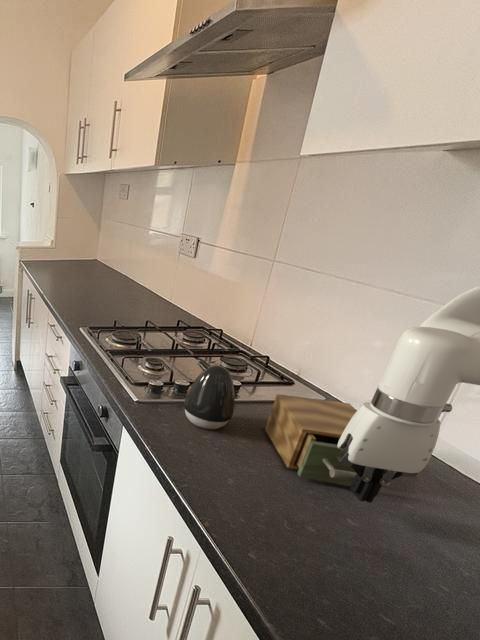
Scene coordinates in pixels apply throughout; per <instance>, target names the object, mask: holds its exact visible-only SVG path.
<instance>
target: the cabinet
mask: <svg viewBox="0 0 480 640" xmlns="http://www.w3.org/2000/svg"><path fill="white" fill-rule="evenodd" d="M357 410H358V409H356V408H355V407H354V406H353V405H352V404H351V403H349V402H342V401H333V400H326V399H318V398H310V397H303V396H295V395H288V394H280V393H277V394H276V396H275V398H274V401H273V404H272V408H271V410H270V413H269V417H268V419H267V423H266V425H265V428H264V431H265V432H266V434H267V436H268V438H269V439H270V441H271V443H272V444H273V446H274V447H275V449H276V451H277V453H278V454H279V456H280V458H281V459H282V461H283V463H284V464H285V466H286V468H287V469H289V470H290V469H291V470H297V471H298V470H299V467H298V465H297V464H296V462H295V460H296V458H297V455H298V453H299V450H300V447H301V445H302V442H303V440H304V437H305V435H306V433H312V434H318V435H325V436H331V437H338V438H340V437H341V435H342V433H343V431H344V430H345V428H346V426H347V425H348V423H349V421H350V420H351V418H352V417H353V415H354V414H355V413H356V411H357Z"/></svg>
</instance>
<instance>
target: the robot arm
mask: <svg viewBox="0 0 480 640" xmlns="http://www.w3.org/2000/svg"><path fill="white" fill-rule="evenodd" d="M459 383H462V384H463V383H464V384H470V385H475V386H480V285H478V286H475V287H473V288H470V289H468V290H466V291H464V292H462V293H460V294H458V295H457V296H455V297H453V298H452V299H451V300H449V301H448V302H447V303H446V304H444V305H443V306H442V307H440V308H439V309H438V310H436V311H435V312H434V313H432V314H431V315H430V316H429V317H428V318H426V319H425V320H423V322H422V323H421V324H420V325H419V326H414V327H410V328H407V329H406V330H405V331H404V332H402V334H401V335H400V337H399V339H398V342H397V344H396V346H395V348H394V350H393V353H392V354H391V357H390V359H389V361H388V364H387V365H386V368H385V370H384V372H383V375H382V377H381V379H380V381H379V383H378V385H377V388H376V390H375V392H374V394H373V396H372V399H371V400H370V402H364V403H362V405H360V407H358V409H356V410H357V411H356V413H355V414H354V415H353V417H352V418H351V420H350V421H349V423H348V425H347V426H346V428H345V430H344V431H343V433H342V435H341V437H340V439H339V441H338V445H337V447H338V448H339V449H340V450H342V451H341V452H340V453H339V455H338V456H337V457H336V460H337V461H338V463H339V464H340V465H343V466H346V467H348V468H352V469H354V470H355V472H356V473H357V474H356V476H355V478H354V480H353V482H352V484H351V486H350V490H351V492H352V493H353V494H354V495H355V497H356V498H357V500H359V501H360V502H366V503H370V504H372V503H373V502H374V499H375V497H376V496H378V494H379V492H380V490H381V488H382V487H383V486H382V485H386V484H388V483H389V482H391V481H392V480H395V479H398V478H400V477H402V478H407V477H408V478H415V477H417V476H418V474H419V473H421V472H422V471H423V470H424V469H425V468H426V466H427V465H428V463H429V461H430V459H431V457H432V455H433V453H434V450H435V447H436V445H437V442H438V438H439V434H440V428H441V420H440V419H439V418H440V416H441V414H442V413H451V412H452V411H453V405H452V404H451V403H448V401H449V399H450V397H451V395H452V393H453V392H454V389H455V388H456V386H457V385H458V384H459Z"/></svg>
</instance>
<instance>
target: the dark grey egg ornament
mask: <svg viewBox="0 0 480 640" xmlns="http://www.w3.org/2000/svg"><path fill="white" fill-rule="evenodd" d="M197 365H198V366H199V367H200V369H201V370H202V371H201V373H200V374H199V375H198V376H197V377H196V378H195V379H194V381H193V383H192V384H191V386H190V388H189V389H188V392H187V394H186V396H185V399H184V401H183V408H184V413H185V416H186V418H187V419H188V421H190V423H191V424H192V425H195V426H196V427H199V428H202V429H205V430H218V429H220V428H223V427H224V426H225V425H226V424H228V422H229V421H230V420H232V417H233V415H234V411H235V386H234V381H233V377H232V374H231V372H230V371H229V369H227V368H226V367H225V366H222V365H220V364H219V365H218V364H214V365H210V366H208V365H206V364H205V363H204V362H203V361H202V360H199V361H198V362H197Z"/></svg>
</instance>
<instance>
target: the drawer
mask: <svg viewBox="0 0 480 640" xmlns="http://www.w3.org/2000/svg"><path fill="white" fill-rule="evenodd" d="M339 439H340V438H338V437H331V436H325V435H318V434H312V433H306V435H305V437H304V440H303V442H302V445H301V447H300V450H299V453H298V455H297V458H296V460H295V462H296V464H297V465H298V467H299V470H297V475H298V477H299V478H304V479H309V480H315V481H321V482H326V483H332V484H337V485H343V486H349V487H351V484H352V482H353V480H354V478H355V476H356V474H357V473H356V472H355V470H354V469H352V468H348V467H346V466H343V465H340V464H339V463H338V461H337V460H336V457H337V456H338V455H339V453H340V452H341V451H342V450H340V449H339V448H338V447H337V445H338V441H339ZM390 482H391V481H390ZM390 482H389V483H388V484H386V485H382V486H381V487H382V488H383V487H384V488H389V486H390Z"/></svg>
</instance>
